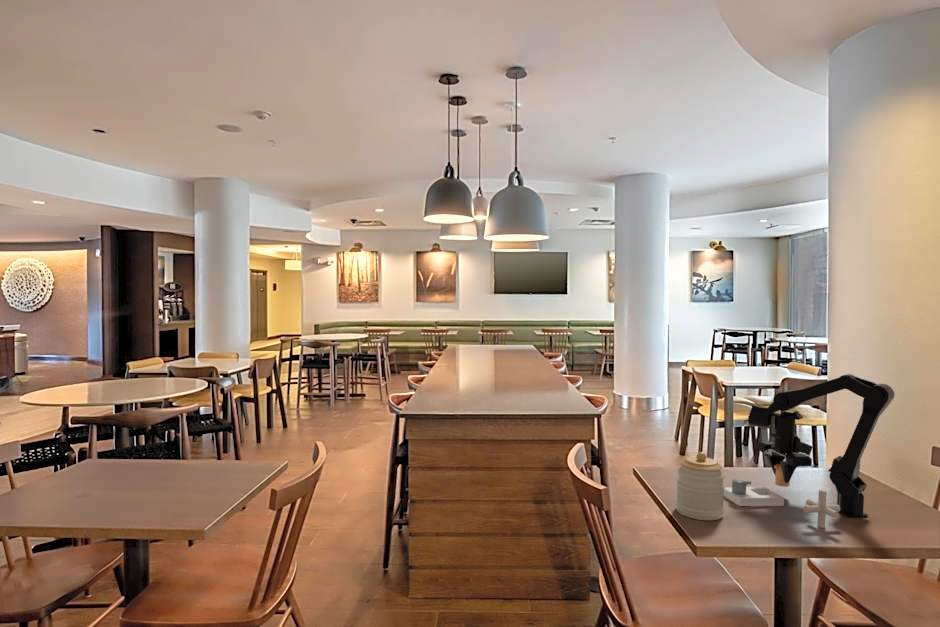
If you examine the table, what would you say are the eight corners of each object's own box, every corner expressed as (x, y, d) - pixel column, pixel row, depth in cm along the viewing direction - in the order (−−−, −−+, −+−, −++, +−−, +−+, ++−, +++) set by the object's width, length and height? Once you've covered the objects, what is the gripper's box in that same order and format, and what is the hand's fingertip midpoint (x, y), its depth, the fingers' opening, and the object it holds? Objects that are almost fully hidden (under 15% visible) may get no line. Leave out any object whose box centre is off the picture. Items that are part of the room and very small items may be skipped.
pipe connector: (823, 519, 171) (825, 484, 170) (851, 533, 161) (853, 496, 160) (792, 520, 169) (793, 485, 168) (818, 534, 159) (820, 497, 159)
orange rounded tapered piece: (792, 486, 187) (793, 467, 187) (778, 486, 187) (779, 467, 187) (784, 482, 191) (784, 463, 191) (770, 482, 191) (771, 463, 191)
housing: (783, 505, 181) (784, 486, 180) (740, 506, 179) (740, 486, 179) (763, 494, 191) (764, 475, 190) (722, 495, 189) (722, 476, 189)
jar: (665, 507, 177) (668, 448, 176) (701, 503, 182) (703, 445, 181) (696, 523, 165) (699, 460, 164) (733, 518, 169) (736, 456, 169)
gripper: (829, 438, 180) (827, 490, 181) (789, 424, 199) (787, 471, 199) (795, 438, 179) (792, 490, 180) (757, 424, 197) (755, 471, 198)
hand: (782, 480), depth 189 cm, fingers closed on orange rounded tapered piece, 4 cm apart
